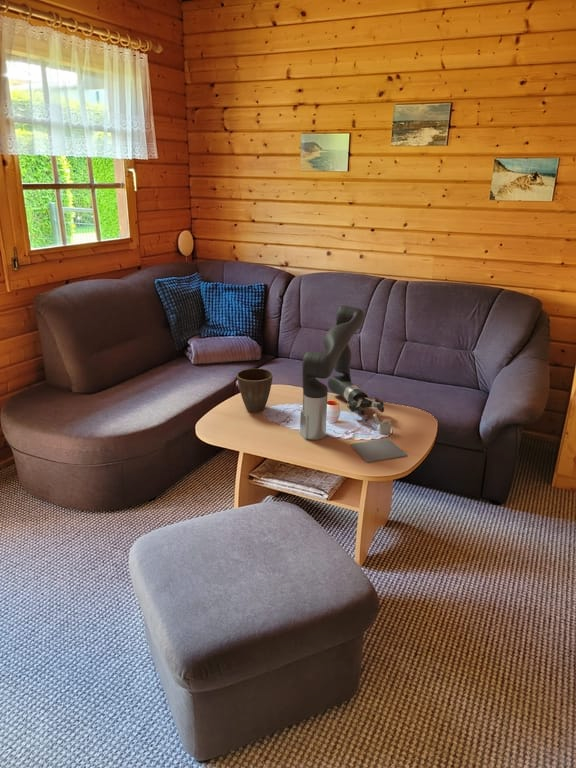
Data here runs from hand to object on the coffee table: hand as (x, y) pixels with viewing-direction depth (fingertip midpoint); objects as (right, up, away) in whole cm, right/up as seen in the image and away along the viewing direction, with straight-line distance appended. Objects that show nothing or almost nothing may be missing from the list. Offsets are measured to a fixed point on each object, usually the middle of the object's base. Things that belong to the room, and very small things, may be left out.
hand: (373, 411), depth 222 cm
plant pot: (-48, 0, +15) cm, 50 cm away
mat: (-1, -14, -18) cm, 23 cm away
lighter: (+2, -8, -4) cm, 10 cm away
